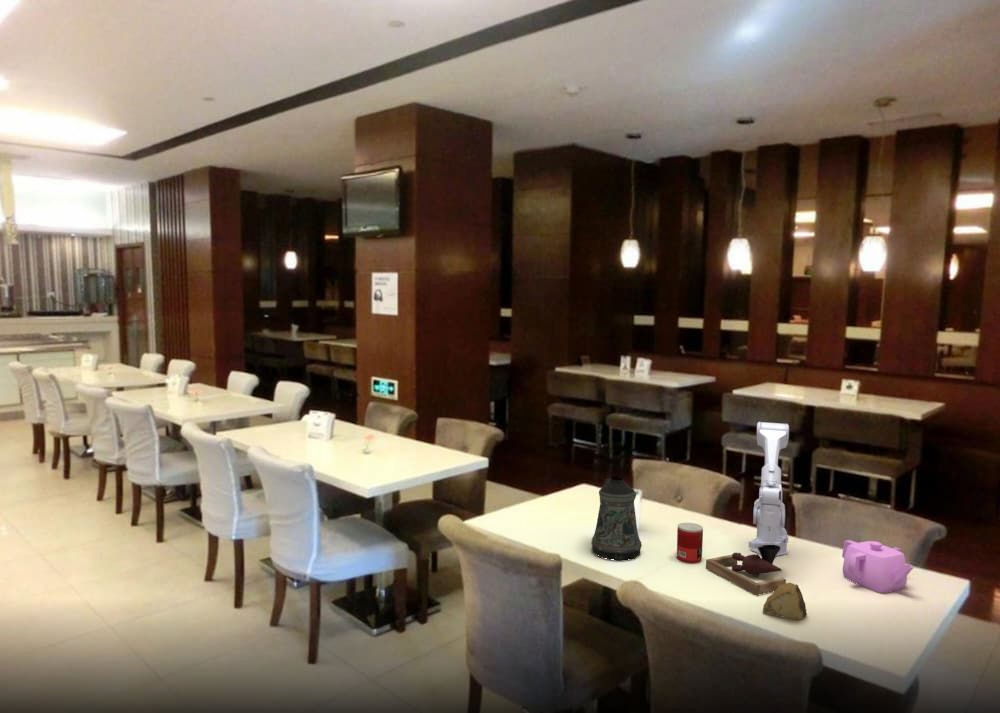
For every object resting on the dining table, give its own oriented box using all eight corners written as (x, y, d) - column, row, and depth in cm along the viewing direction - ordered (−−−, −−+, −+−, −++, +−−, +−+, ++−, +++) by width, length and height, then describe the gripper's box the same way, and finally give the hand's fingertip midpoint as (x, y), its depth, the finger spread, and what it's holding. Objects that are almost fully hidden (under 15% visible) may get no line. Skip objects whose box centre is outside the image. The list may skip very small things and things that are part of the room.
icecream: (785, 557, 206) (736, 549, 216) (777, 558, 201) (727, 550, 210) (784, 580, 205) (735, 572, 215) (777, 582, 199) (727, 573, 209)
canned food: (702, 564, 216) (704, 531, 215) (677, 562, 218) (678, 529, 217) (700, 555, 224) (701, 523, 223) (675, 553, 226) (676, 521, 225)
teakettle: (839, 567, 215) (841, 530, 214) (900, 576, 209) (902, 537, 208) (846, 589, 199) (848, 548, 198) (912, 598, 193) (915, 557, 192)
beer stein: (620, 565, 215) (621, 489, 213) (574, 548, 230) (576, 476, 227) (651, 553, 226) (653, 479, 224) (606, 537, 240) (607, 468, 238)
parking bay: (733, 563, 218) (734, 554, 217) (785, 588, 199) (786, 579, 198) (705, 568, 213) (706, 559, 213) (755, 595, 194) (756, 585, 194)
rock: (754, 607, 182) (790, 615, 175) (760, 576, 186) (797, 583, 178) (771, 621, 188) (807, 629, 180) (777, 591, 191) (812, 598, 184)
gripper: (761, 532, 202) (759, 576, 203) (796, 525, 208) (794, 568, 209) (744, 525, 208) (742, 567, 209) (778, 518, 214) (777, 560, 215)
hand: (767, 567), depth 209 cm, fingers closed
